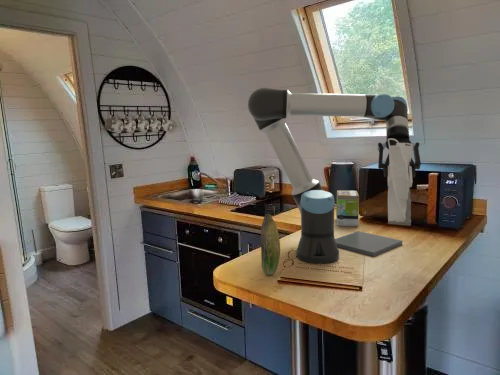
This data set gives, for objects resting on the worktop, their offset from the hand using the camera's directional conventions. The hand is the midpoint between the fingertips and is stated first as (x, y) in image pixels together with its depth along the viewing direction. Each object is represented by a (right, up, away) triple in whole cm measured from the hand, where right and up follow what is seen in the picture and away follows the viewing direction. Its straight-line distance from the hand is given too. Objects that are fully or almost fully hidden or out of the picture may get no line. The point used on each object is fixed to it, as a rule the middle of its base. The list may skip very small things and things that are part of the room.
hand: (399, 184), depth 125 cm
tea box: (-1, -18, +62) cm, 65 cm away
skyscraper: (+1, -13, +6) cm, 14 cm away
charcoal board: (-3, -24, +27) cm, 36 cm away
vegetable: (-42, -29, -1) cm, 51 cm away
